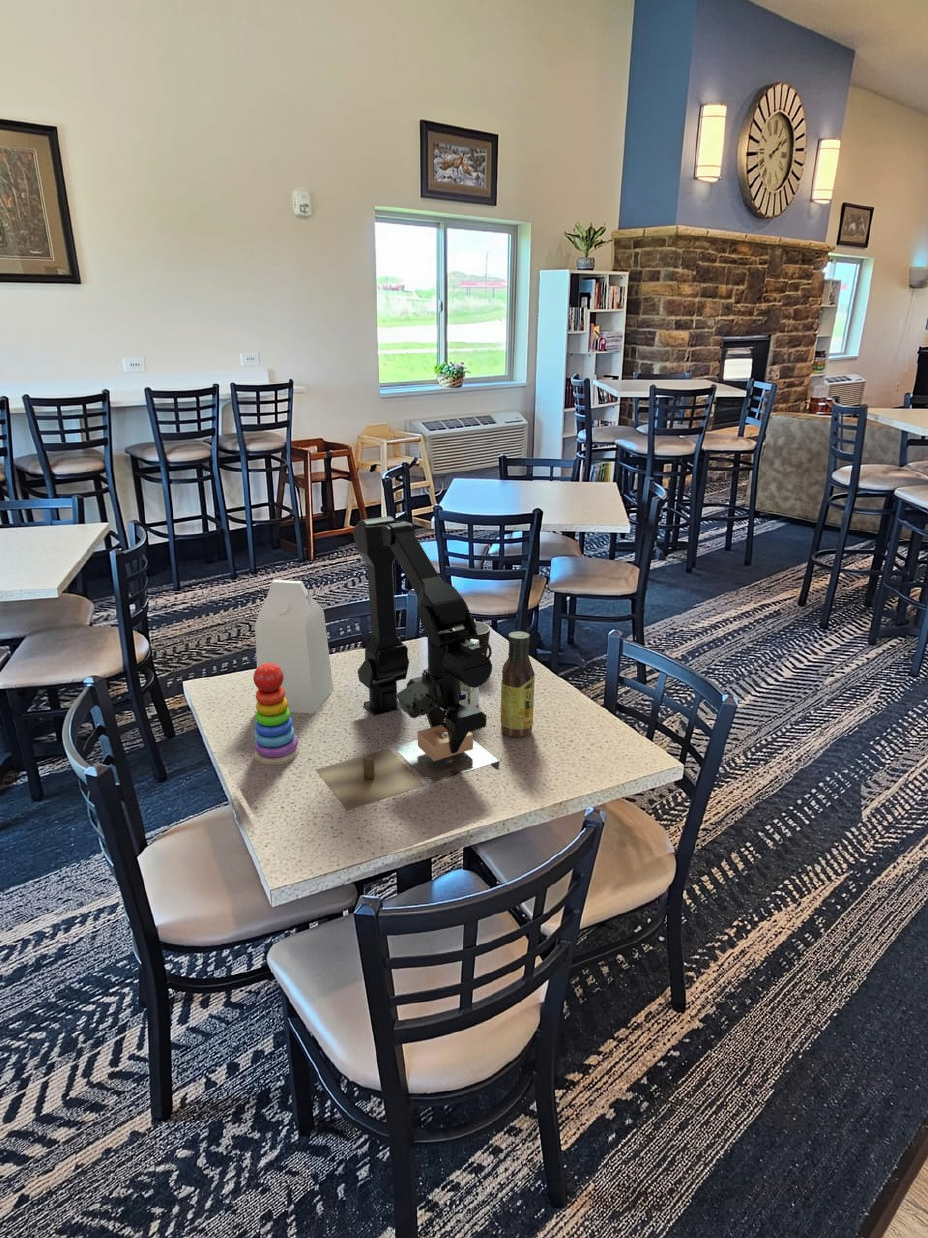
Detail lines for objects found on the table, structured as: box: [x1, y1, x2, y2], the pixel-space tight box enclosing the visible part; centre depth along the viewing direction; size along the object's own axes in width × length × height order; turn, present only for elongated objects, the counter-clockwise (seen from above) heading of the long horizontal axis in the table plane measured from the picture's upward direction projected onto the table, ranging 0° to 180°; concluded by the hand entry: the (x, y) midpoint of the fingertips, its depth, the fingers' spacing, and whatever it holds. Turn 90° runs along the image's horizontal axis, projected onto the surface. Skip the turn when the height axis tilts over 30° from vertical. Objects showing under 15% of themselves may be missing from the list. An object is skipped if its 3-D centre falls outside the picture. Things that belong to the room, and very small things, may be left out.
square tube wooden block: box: [417, 725, 474, 761], centre depth 135 cm, size 6×8×3 cm
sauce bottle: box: [500, 631, 535, 738], centre depth 143 cm, size 7×6×20 cm
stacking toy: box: [252, 663, 301, 766], centre depth 134 cm, size 8×8×19 cm
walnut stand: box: [315, 748, 425, 811], centre depth 129 cm, size 14×14×4 cm
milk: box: [254, 579, 334, 715], centre depth 155 cm, size 12×12×26 cm
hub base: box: [393, 732, 500, 784], centre depth 136 cm, size 14×14×5 cm
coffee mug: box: [451, 620, 493, 659], centre depth 171 cm, size 12×9×10 cm
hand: (445, 745), depth 136 cm, fingers closed on square tube wooden block, 6 cm apart
